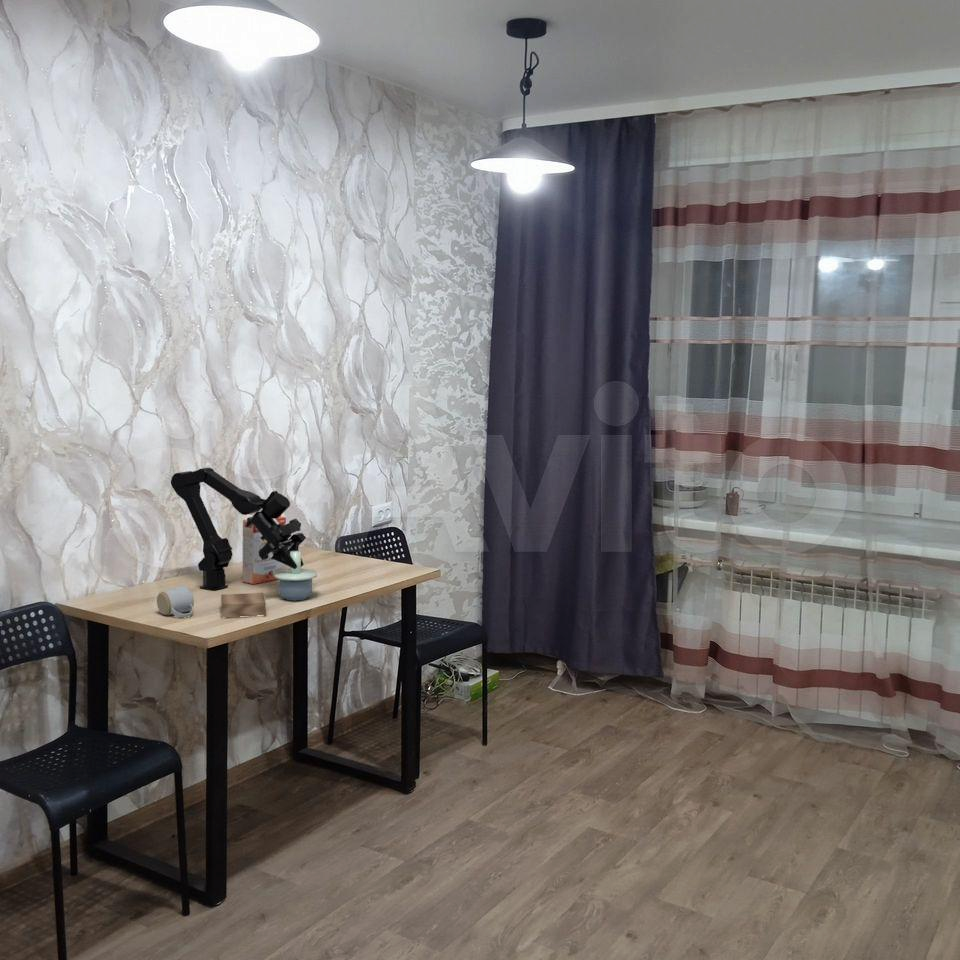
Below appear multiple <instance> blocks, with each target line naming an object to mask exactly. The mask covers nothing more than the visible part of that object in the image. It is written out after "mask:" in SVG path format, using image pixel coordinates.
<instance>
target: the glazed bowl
mask: <svg viewBox="0 0 960 960" xmlns="http://www.w3.org/2000/svg"><path fill="white" fill-rule="evenodd" d="M278 594H279V596H281V597H283V599H284V598H285V599H287V600H286V601H288V600H302V601H305V600H304V599H306V600H307V599H308V596H311V595H313V578H312V579H308V580H298V581H289V580H280V579H278ZM285 599H284V600H285Z"/></svg>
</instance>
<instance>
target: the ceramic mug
mask: <svg viewBox="0 0 960 960" xmlns="http://www.w3.org/2000/svg"><path fill="white" fill-rule="evenodd" d="M156 604H157V605H156V606H157V609H158V610H159V612H160V613H161V614H162V615H163V614H164V616H175V617H176V618H179V617H188V616H191V615H192V616H193V614H194V604H195V599H194V594H193V591H192V590H191V589H190V587H189V586H187V585H186V584H184V585H183V584H181V585H180V586H176V587H173V588H168V589H164V590H162V591H160V592H159V593H158V595H157V597H156ZM183 612H184V613H183ZM192 616H191V617H192ZM188 618H189V617H188Z"/></svg>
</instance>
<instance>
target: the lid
mask: <svg viewBox="0 0 960 960" xmlns="http://www.w3.org/2000/svg"><path fill="white" fill-rule="evenodd" d="M290 556H291V557H292V559H293V560H294V562H295V563H296V565H297V568H296V569H293V568H291V567H289V568H285V569H284V570H279V571H276V572H275V573H274V577H275V578H277V580H279V579H280V580H289V581H298V580H308V579H312V580H313V579H315V578H317V577H318V572H317V571H316V570H314V569H308V568H302V567H301V559H302V551H301V550H299V551H290Z"/></svg>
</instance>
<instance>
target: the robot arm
mask: <svg viewBox="0 0 960 960" xmlns="http://www.w3.org/2000/svg"><path fill="white" fill-rule="evenodd" d="M201 483H204V484H205V485H207V486H208V487H210V488H211V489H213V490H214V491H216V492H217V493H218V494H220V495H222V496H223V497H224V498H226V499H227V500H228V501H230V502H231V505H232V507H233V508H234V509H235V510H236V511H237V512H238V513H239V514H240V515H242V516H247V515H252V514H253V515H252V516H250V517H247V518H246V519H247V524H246V526H247V527H249V526H253V525H254V526H255V527H256V528H257V530H258V531H259V532H260V533H261V535H262V537H261V539H262V540H266V541H267V543H266V544H265V545H264V546H263V547H262V549H261V550H260V551H259V557H260V558H261V559H262V560H265V559H267V558H268V554H269V553H270V552H272V554H273V556H272V557H271V559H274V560H276V561H279V562H281V563H283V564H285V566H286V567H289V568H290V567H291V568H293V569H296V568H297V565H296V563H295V562H294V560H293V559H292V557H291V556H290V551H300V550H299V547H300V545H301V544H302V543H303V542H304V541H305V540H306V539H307V537H306V535H305V534H304V533H303V532H300V531H301V528H302V523H301V522H300V521H299V520H298V519H297V518H293V519H291V520H289V522H288V523H286V525H282V524H277V523H276V522H275V521H274V520H273V518H275V519H278V518H279V517H280V516H282V515H283V514H284V513H285V512H286V511H287V510H288V508H290V506H291V502H290V499H288V497H286V496H285V495H284V494H282V493H279V492H278V491H277V490H273V491H271V492H270V494H269V496H268V497H267V498H265V499H264V498H261V496H259V494H256V493H254V492H252V491H250V490H249V491H248V490H245V489H241V488H240V487H238V486H236V484H234V483H232V482H231V481H229V480H227V479H226V478H224V476H222V475H221V474H219V473H218V472H216V471H215V469H213V468H211V467H203V468H199V469H196V470H194V471H192V470H187V471H180V472H175V473H174V474H172V476H171V479H170V485H171V487H172V489H173V491H174V492H175V493H176V495H177V496H179V498H181V499H182V500H184V502H185V504H186V506H187V509H188V511H189V513H190V515H191V517H192V520H193V521H194V524H195V526H196V528H197V530H198V533H199V535H200V537H201V539H202V542H203V543H202V544H203V545H202V546H203V547H202V554H203V558H201V560H200V561H199V562H198V563H197V566H198V570H199V571H201V572H202V577H203V578H202V584H203V585H200V586H199V588H200V589H202V588H204V589H203V590H208V589H209V591H217V589H218V590H221V588H222V589H225V587H226V588H228V587H229V585H228V584H226V573H225V568H228V566H229V564H230V561H231V560H232V558H233V551H232V550H233V547H232V546H231V545H230V542H229V539H228V538H227V537H224V538H222V537H221V536H219V534H218V531H217V530H216V527H215V526H214V523H213V521H212V518H211V517H210V514H209V511H208V510H207V508H206V506H205V503H204V501H203V499H202V497H201ZM296 532H298V533H296ZM303 566H304V561H303V559H302V558H301V568H302V567H303Z"/></svg>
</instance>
